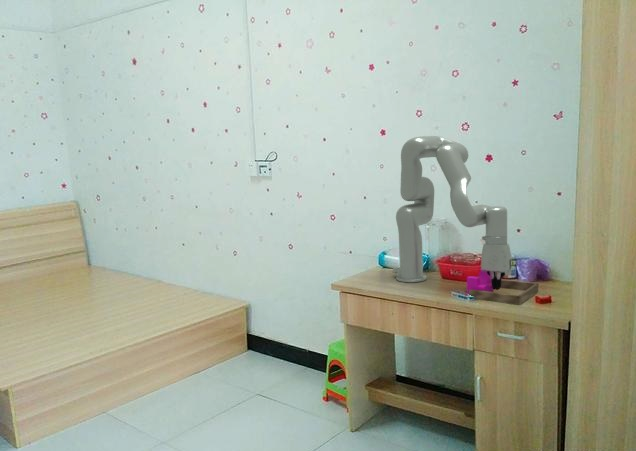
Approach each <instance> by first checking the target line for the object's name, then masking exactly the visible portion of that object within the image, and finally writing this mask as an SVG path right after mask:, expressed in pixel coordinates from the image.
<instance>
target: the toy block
mask: <svg viewBox="0 0 636 451" xmlns="http://www.w3.org/2000/svg"><path fill="white" fill-rule="evenodd" d="M470 289H472V290H479V291H487V292H494V290H493V287H492V283H491V277H490V276H489V275H488V274H487V273H484V272H482V268H480V269H479V271H478V276H473V275H471V276H470V275H469V276H467V277H466V295H467V294H469V290H470Z"/></svg>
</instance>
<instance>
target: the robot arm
mask: <svg viewBox="0 0 636 451" xmlns="http://www.w3.org/2000/svg"><path fill="white" fill-rule="evenodd" d="M425 158H426V159H427V158H435V159H436V161H437V163H438V164H439V167H440V169H441V172H442V173H443V175H444V177H445V179H446V181H447V183H448V186H449V188H450V192H449V194H450V195H449V196H450V197H449V198H450V204H451V207H452V210H453V212H454V214H455V216H456V218H457V220H458V221H459V223H460V224H461V225H462V226H464V227H465V228H474V227H477V226H483V225H485V235H484V236H482V237H481V240H482V241H484V242H485V243H482V245H483V246H482V249H481V250H482V251H481V260H480V269H482V272H484V273H487V274H488V275H489V276H490V277H491V279H492V287H493V291H494V290H496V291H498V290H500V289H501V279H503V277H505V276H510V275H512V253H511V252H512V251H511V247H510V244H509V243H508V209H507V208H506V207H505V206H497V205H496V206H490V205H487V204H477V205H472V204H471V202H470V200H469V198H468V192H467V187H468V186H469V184H470V182H471V180H472V176H471V173H470V172H469V170H468V168H467V166H466V164H465V163H466V162H467V161H468V159H469V152H468V149H467V147H466V146H465V145H463V144H461V143H460V142H457V141H453V140H451V139H447V138H444V137H441V136H437V135H427V136H426V135H423V136H414V137H412V138H410V139H408V140H407V141H406V142H405V143H404V144H403V146H402V148H401V151H400V164H401V168H400V169H401V170H400V197H401V199H403V201H407V202H414V203H409V204H404V205H402V206H401V207H400V208H398V209H397V211H396V214H395V221H396V225H397V231H398V232H397V233H398V249H399V254H398V256H399V267H395V266H393V268H392V273H394V274H397V275H396V278H395V279H396V280H397V281H399V282H402V283H420V282H424V281H426V280H427V278H428V277H427V275H426V274H424V268H423V266H424V265H423V236H422V231H421V230H420V227H419V226H424V225H427V224H429V222H431V221H432V219H433V217H434V207H435V206H434V205H435V187H434V183H433V181H432V180H431V179H430V178H429V177H427V176H423V166H422V164H423V163H422V161H421V159H425Z"/></svg>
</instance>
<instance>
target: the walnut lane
mask: <svg viewBox="0 0 636 451" xmlns="http://www.w3.org/2000/svg"><path fill="white" fill-rule="evenodd" d="M491 283H492V279H491ZM502 288H503V289H511V290H520V291H523V292H521V293H520V294H519V295H517V294H509V293H501V292H495V291H493V292H487V291H479V290H472V289H470V290H469V295H471V296H474V297H475V298H476V299H475V300H482V301H487V302H488V301H489V302H494V303H504V304H511V305H515V306H516V305H517V306H521V305H522V304H524V303H525V302H527V301H528V300H529V299H531V298H532V297H533V296H534V295H535V294H537V293H538V292H539V283H537V282H528V281H520V280H519V281H518V280H509V279H503V278H501V287H500V289H502Z"/></svg>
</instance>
